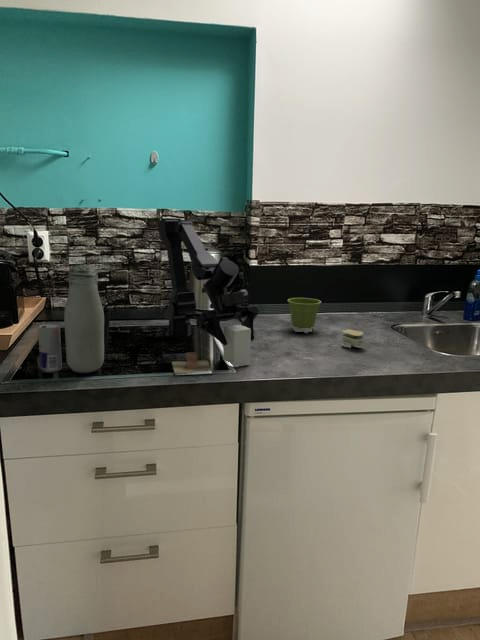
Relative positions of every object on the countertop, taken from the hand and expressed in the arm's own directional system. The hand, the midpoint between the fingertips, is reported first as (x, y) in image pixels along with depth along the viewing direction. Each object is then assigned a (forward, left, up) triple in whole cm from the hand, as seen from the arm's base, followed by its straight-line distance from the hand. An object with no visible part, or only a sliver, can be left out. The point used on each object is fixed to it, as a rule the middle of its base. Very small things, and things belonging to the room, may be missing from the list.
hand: (239, 342), depth 145 cm
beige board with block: (-10, -9, -7) cm, 15 cm away
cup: (-43, -6, -7) cm, 44 cm away
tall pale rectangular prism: (-1, +1, -7) cm, 7 cm away
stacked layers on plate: (+26, +33, -7) cm, 43 cm away
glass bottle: (-34, -23, -7) cm, 42 cm away
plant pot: (+6, +46, -7) cm, 47 cm away
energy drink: (-43, -26, -7) cm, 51 cm away
